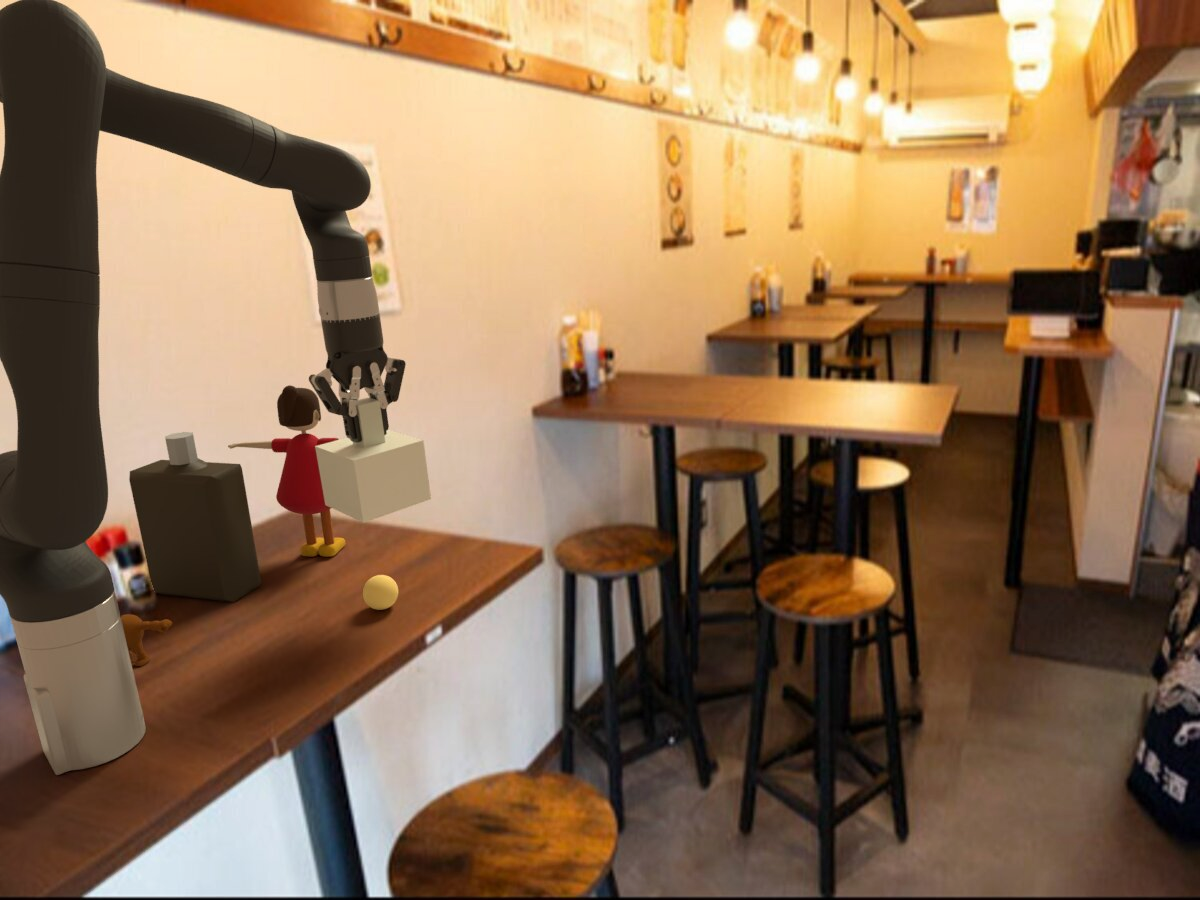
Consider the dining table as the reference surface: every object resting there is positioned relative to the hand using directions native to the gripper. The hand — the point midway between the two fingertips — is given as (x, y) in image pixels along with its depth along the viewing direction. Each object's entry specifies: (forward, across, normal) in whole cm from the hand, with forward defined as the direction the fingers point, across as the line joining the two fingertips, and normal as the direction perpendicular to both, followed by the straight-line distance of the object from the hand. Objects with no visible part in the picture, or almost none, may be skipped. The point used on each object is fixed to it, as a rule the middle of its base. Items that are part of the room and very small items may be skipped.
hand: (368, 437), depth 111 cm
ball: (+23, -2, 0) cm, 23 cm away
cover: (+10, 0, 0) cm, 10 cm away
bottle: (+25, -17, +27) cm, 41 cm away
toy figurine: (+25, -32, +11) cm, 42 cm away
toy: (+26, +1, +25) cm, 36 cm away
